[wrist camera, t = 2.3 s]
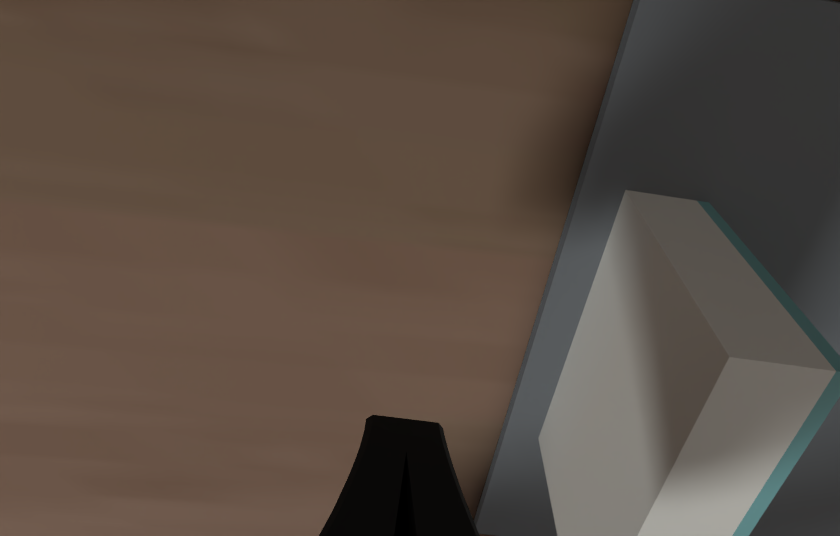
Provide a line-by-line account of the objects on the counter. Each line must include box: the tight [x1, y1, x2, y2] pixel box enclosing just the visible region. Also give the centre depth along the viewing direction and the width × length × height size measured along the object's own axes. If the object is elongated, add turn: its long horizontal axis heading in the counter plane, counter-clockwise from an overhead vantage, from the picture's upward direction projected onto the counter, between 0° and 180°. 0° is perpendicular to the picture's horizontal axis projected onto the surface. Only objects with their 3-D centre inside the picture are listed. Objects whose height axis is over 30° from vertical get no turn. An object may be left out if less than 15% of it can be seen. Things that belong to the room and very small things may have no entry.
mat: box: [474, 0, 840, 536], centre depth 18 cm, size 17×13×1 cm
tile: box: [538, 190, 840, 536], centre depth 14 cm, size 8×2×6 cm, turn 171°
